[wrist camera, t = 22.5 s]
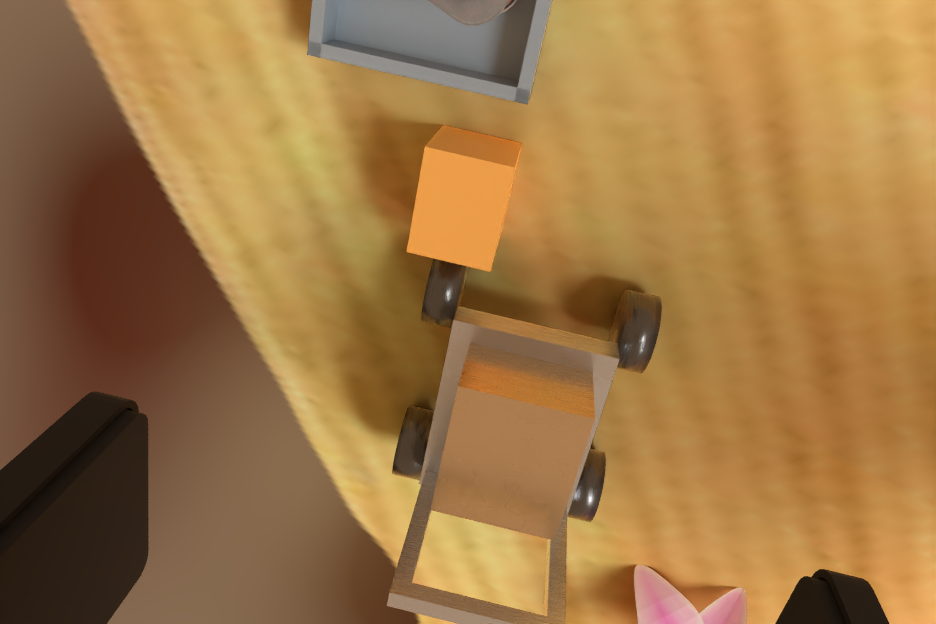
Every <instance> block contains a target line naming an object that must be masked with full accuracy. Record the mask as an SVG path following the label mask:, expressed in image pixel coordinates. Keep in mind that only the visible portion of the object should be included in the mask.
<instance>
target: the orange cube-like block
mask: <svg viewBox="0 0 936 624" xmlns="http://www.w3.org/2000/svg"><path fill="white" fill-rule="evenodd" d="M521 146H522V143H519V142H515V141H511V140H506V139H502V138H498V137H493V136H489V135H485V134H480V133H476V132H472V131H467V130H463V129H459V128H454V127H450V126H446V125H443V126H442V127H441V128H440V129H439V130H438V132H437V133H436V134H435V135H434V136H433V138H432V139H431V140H430V141H429V142H428V143H427V145H426V146H425V148H424V154H423V160H422V166H421V171H420V177H419V183H418V189H417V194H416V200H415V206H414V212H413V217H412V223H411V229H410V235H409V240H408V246H407V252H409V253H413V254H417V255H421V256H426V257H430V258H434V259H438V260H442V261H447V262H451V263H455V264H459V265H463V266H468V267H472V268H476V269H480V270H484V271H489V272H491V268H492V265H493V261H494V258H495V254H496V251H497V247H498V243H499V240H500V236H501V232H502V228H503V223H504V219H505V215H506V210H507V206H508V202H509V198H510V193H511V189H512V185H513V180H514V176H515V172H516V167H517V163H518V159H519V155H520V150H521Z"/></svg>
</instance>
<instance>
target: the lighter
mask: <svg viewBox="0 0 936 624" xmlns="http://www.w3.org/2000/svg"><path fill="white" fill-rule="evenodd" d="M428 1H429V2H431V3H432V4H434V5H435V6H436V7H438V8H439V9H440V10H442V11H443V12H445V13H446V14H447V15H449V16H450V17H452V18H453V19H454V20H456V21H457V22H460V23H462V24H464V25H467V26H479V25H481V24H484V23H487V22H489V21H491V20H492V19H494V18H495V17H496V16H497V15H499V14H500V13H502V12H505V11H507V10H508V9H509V8H511V7H512V6H513V5H514V4H515V3H516V2H517V0H428Z"/></svg>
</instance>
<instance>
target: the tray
mask: <svg viewBox="0 0 936 624" xmlns="http://www.w3.org/2000/svg"><path fill="white" fill-rule="evenodd" d="M551 4H552V0H517V2H516V3H515V4H514V5H513V6H512V7H511V8H509V9H508V10H507V11H505V12H502V13H500V14H499V15H497V16H496V17H495V18H494V19H492V20H491V21H489V22H487V23H484V24H481V25H479V26H467V25H464V24H462V23H460V22H457V21H456V20H454V19H453V18H452V17H450V16H449V15H447V14H446V13H445V12H443V11H442V10H440V9H439V8H438V7H436V6H435V5H434V4H432V3H431V2H429V1H428V0H312V8H311V19H310V30H309V41H308V52H307V55H311V56H315V57H320V58H324V59H329V60H333V61H337V62H342V63H346V64H351V65H355V66H360V67H364V68H368V69H373V70H377V71H382V72H386V73H391V74H395V75H400V76H404V77H408V78H413V79H417V80H422V81H426V82H431V83H435V84H439V85H444V86H448V87H453V88H457V89H462V90H466V91H470V92H475V93H479V94H484V95H488V96H493V97H497V98H501V99H506V100H510V101H515V102H519V103H524V104H528V102H529V99H530V96H531V92H532V87H533V83H534V78H535V74H536V70H537V65H538V61H539V56H540V52H541V48H542V43H543V39H544V34H545V30H546V26H547V21H548V17H549V13H550V8H551Z"/></svg>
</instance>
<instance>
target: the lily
mask: <svg viewBox="0 0 936 624" xmlns="http://www.w3.org/2000/svg"><path fill="white" fill-rule="evenodd" d="M634 588H635V599H636V608H637V617H638V624H747V597H746V592H745V590H744V589H743V588H739V587H738V588H736V589H733V590H731V591H729V592H728V593H726V594H725V595H723V596H721V597H720V598H718V599H717V600H716V601H714V602H713V603H711V604H710V605H709V606H707V607H706V608H705V609H704V610H703V611H702V612H700V613H698V611H697V610H696V609H695V608H694V606H693V605H692V604H691V603H690V602H689V601H688V600H687V599H686V598H685V597H684V596H683V595H682V594H681V593H680V592H679V591H678V590H677V589H675V588H674V587H673V586H672V585H671V584H670V583H669V582H668V581H666V580H665V579H664V578H663V577H661V576H660V575H659V574H657V573H656V572H655V571H654V570H652V569H650V568H649V567H647V566H645V565H637V566H636V567H635V569H634Z"/></svg>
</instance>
